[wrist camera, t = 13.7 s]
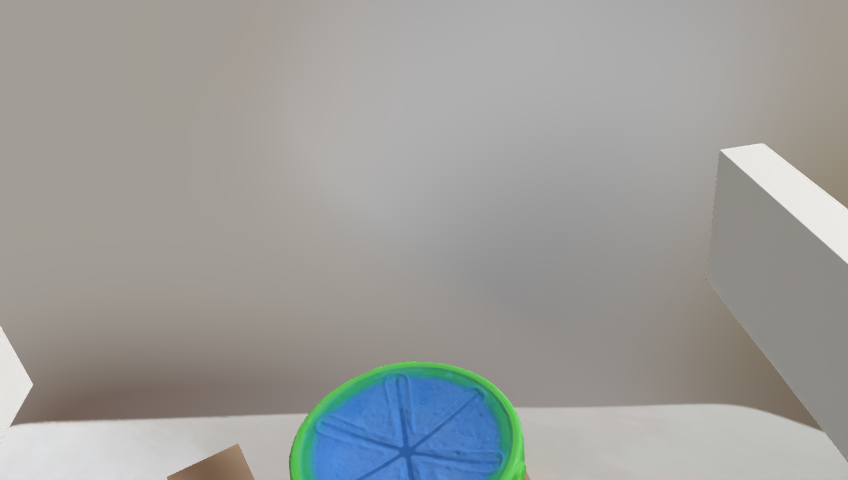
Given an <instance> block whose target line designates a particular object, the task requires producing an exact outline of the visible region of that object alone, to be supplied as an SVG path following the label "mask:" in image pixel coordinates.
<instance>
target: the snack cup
mask: <svg viewBox="0 0 848 480" xmlns="http://www.w3.org/2000/svg"><path fill="white" fill-rule="evenodd" d="M289 458H290V459H289V469H290V478H291V480H524V477H525V472H526V465H525V464H524V439H523V434H522V428H521V423H520V420H519V418H518V415H517V413H516V411H515V409H514V407H513V406H512V404H511V403H510V401H509V400H508V399H507V398H506V396H505V395H504V394H503V393H502V392H501V391H500V390H499V389H498V388H497V387H496V386H494V385H493V384H492V383H490V382H489V381H488V380H486V379H484V378H482V377H481V376H479V375H476V374H475V373H472V372H470V371H468V370H465V369H462V368H459V367H455V366H451V365H446V364H439V363H425V362H422V363H421V362H420V363H419V362H416V360H414V361H410V362H402V363H396V364H391V365H386V366H382V367H378V368H375V369H373V370H372V371H370V372H368V373H365V374H362V375H360V376H358V377H355V378H353V379H352V380H350V381H348V382H346V383H344V384H342V385H341V386H339V387H338V388H336V389H335V390H333V391H332V392H331V393H329V394H328V395H327V396H326V397H325V398H323V399H322V400H321V401H320V402H319V403H318V404H317V405H316V406H315V408H314V409H313V410H312V411H311V412H310V413H309V415H308V416H307V417H306V419H305V420H304V422H303V423H302V425H301V426H300V428H299V430H298V432H297V435H296V437H295V439H294V442H293V445H292V449H291V453H290V456H289Z"/></svg>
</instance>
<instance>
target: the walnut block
mask: <svg viewBox="0 0 848 480" xmlns="http://www.w3.org/2000/svg"><path fill="white" fill-rule="evenodd" d="M167 479H168V480H254V478H253V476H252V474H251V471H250V469H249V467H248V465H247V462H246V460H245V458H244V456H243V454H242V451H241V449H240V447H239V445H238V444H236V445H234V446H232V447H230V448H228V449H226V450H224V451H221V452H219V453H217V454H215V455H213V456H211V457H209V458H206V459H204V460H202V461H200V462H198V463H196V464H194V465H192V466H189V467H187V468H185V469H183V470H181V471H179V472H177V473H175V474H172V475H170V476H168V477H167Z"/></svg>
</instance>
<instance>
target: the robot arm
mask: <svg viewBox="0 0 848 480" xmlns="http://www.w3.org/2000/svg"><path fill="white" fill-rule="evenodd" d="M706 280H707V281H708V282H709V284H710V285H711V286H712V288H713V289H714V290H715V291H716V293H717V294H718V295H719V297H720V298H721V299H722V300H723V302H724V303H725V304H726V306H727V307H728V308H729V309H730V311H731V312H732V313H733V315H734V316H735V317H736V318H737V320H738V321H739V322H740V324H741V325H742V326H743V327H744V329H745V330H746V331H747V333H748V334H749V335H750V337H751V338H752V339H753V340H754V342H755V343H756V344H757V345H758V347H759V348H760V349H761V351H762V352H763V353H764V355H765V356H766V357H767V358H768V360H769V361H770V362H771V364H772V365H773V366H774V367H775V369H776V370H777V371H778V373H779V374H780V375H781V376H782V378H783V379H784V380H785V382H786V383H787V384H788V385H789V387H790V388H791V389H792V391H793V392H794V393H795V395H796V396H797V397H798V398H799V399H800V401H801V402H802V403H803V405H804V406H805V407H806V409H807V410H808V411H809V412H810V414H811V415H812V416H813V418H814V419H815V420H816V422H817V423H818V424H819V425H820V427H821V428H822V429H823V431H824V432H825V433H826V434H827V436H828V437H829V438H830V440H831V441H832V442H833V443H834V445H835V446H836V447H837V449H838V450H839V451H840V452H841V454H842V455H843V456H844V458H845V459H846V460H847V461H848V209H847V208H845V207H844V206H843V205H841V204H840V203H839V202H838V201H836V200H835V199H834V198H833V197H831V196H830V195H829V194H827V193H826V192H825V191H824V190H822V189H821V188H820V187H819V186H817V185H816V184H815V183H813V182H812V181H811V180H810V179H808V178H807V177H806V176H804V175H803V174H802V173H801V172H799V171H798V170H797V169H795V168H794V167H793V166H792V165H790V164H789V163H788V162H786V161H785V160H784V159H783V158H781V157H780V156H779V155H778V154H776V153H775V152H774V151H772V150H771V149H770V148H769V147H767V146H766V145H765V144H763V143H762V144H755V145H748V146H742V147H735V148H729V149H722V150H720V153H719V162H718V172H717V181H716V191H715V200H714V210H713V220H712V229H711V239H710V248H709V258H708V267H707V276H706ZM32 386H33V384H32V382H31V380H30V378H29V376H28V375H27V373H26V371H25V369H24V368H23V366H22V364H21V362H20V360H19V359H18V357H17V355H16V353H15V351H14V350H13V348H12V346H11V344H10V343H9V341H8V339H7V337H6V336H5V334H4V332H3V330H2V328H1V327H0V443H1V441H2V439H3V437H4V435H5V434H6V432H7V430H8V428H9V426H10V425H11V423H12V421H13V419H14V418H15V416H16V414H17V412H18V410H19V409H20V407H21V405H22V403H23V401H24V400H25V398H26V396H27V394H28V393H29V391H30V389H31V387H32Z"/></svg>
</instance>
